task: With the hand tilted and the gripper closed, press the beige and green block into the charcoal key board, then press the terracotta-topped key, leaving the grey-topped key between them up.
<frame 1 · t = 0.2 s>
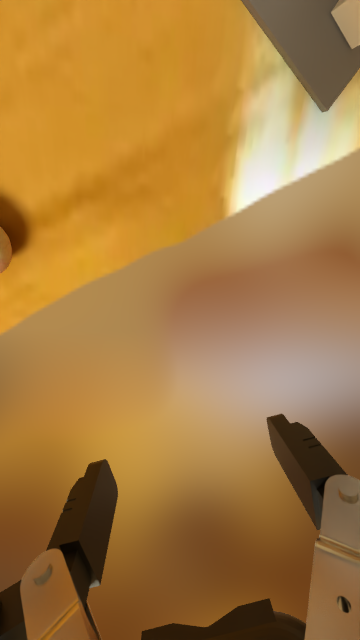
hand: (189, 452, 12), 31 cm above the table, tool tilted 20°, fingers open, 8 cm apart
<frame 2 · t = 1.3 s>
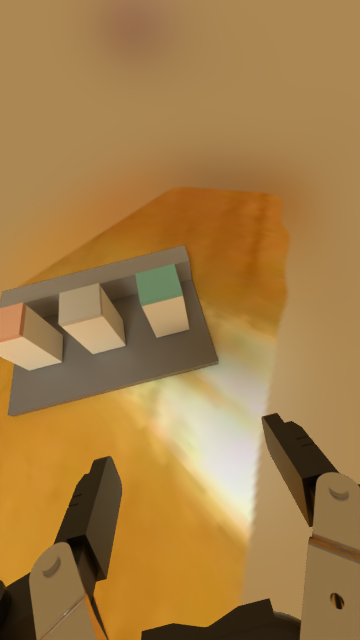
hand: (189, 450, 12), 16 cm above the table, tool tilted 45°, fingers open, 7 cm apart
beige and green block: (164, 303, 30), point 5 cm above the table, slide at 0.0 cm
key board: (111, 334, 35), on the table
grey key: (95, 321, 30), point 5 cm above the table, slide at 0.0 cm
terracotta key: (26, 339, 30), point 5 cm above the table, slide at 0.0 cm
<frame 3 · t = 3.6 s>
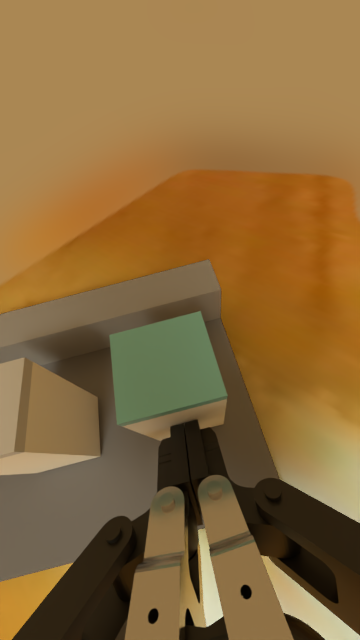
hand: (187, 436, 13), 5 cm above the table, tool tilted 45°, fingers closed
beige and green block: (176, 387, 14), point 5 cm above the table, slide at 0.0 cm, touching gripper
key board: (77, 420, 19), on the table
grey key: (31, 425, 14), point 5 cm above the table, slide at 0.0 cm
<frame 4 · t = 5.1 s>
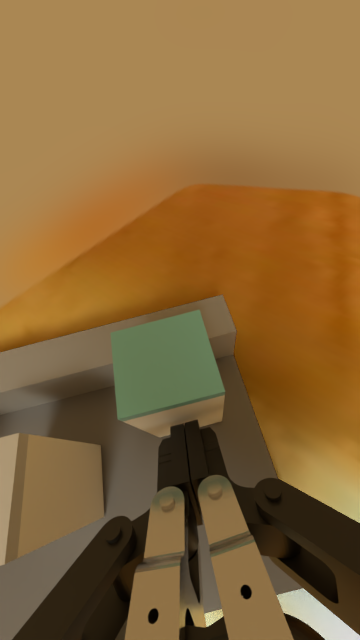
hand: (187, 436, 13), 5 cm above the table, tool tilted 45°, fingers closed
beige and green block: (175, 384, 14), point 5 cm above the table, slide at 3.5 cm
key board: (78, 469, 18), on the table
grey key: (28, 494, 13), point 5 cm above the table, slide at 0.0 cm
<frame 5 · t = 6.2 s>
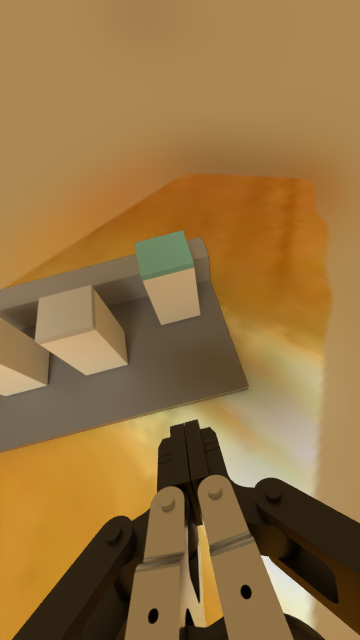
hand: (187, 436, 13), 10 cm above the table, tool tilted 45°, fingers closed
beige and green block: (170, 282, 24), point 5 cm above the table, slide at 3.5 cm
key board: (109, 348, 28), on the table
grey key: (88, 335, 23), point 5 cm above the table, slide at 0.0 cm
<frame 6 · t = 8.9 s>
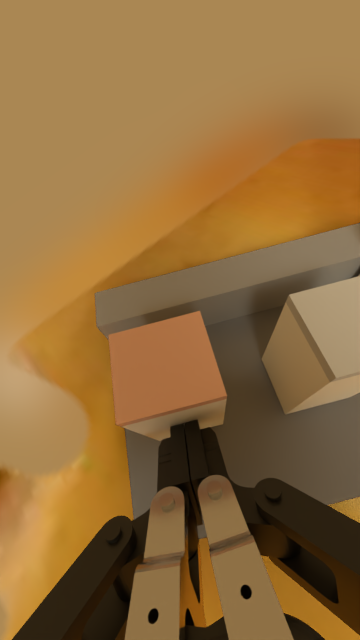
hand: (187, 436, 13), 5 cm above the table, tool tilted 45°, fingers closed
key board: (292, 369, 19), on the table
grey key: (324, 355, 14), point 5 cm above the table, slide at 0.0 cm
terracotta key: (175, 387, 14), point 5 cm above the table, slide at 0.4 cm, touching gripper
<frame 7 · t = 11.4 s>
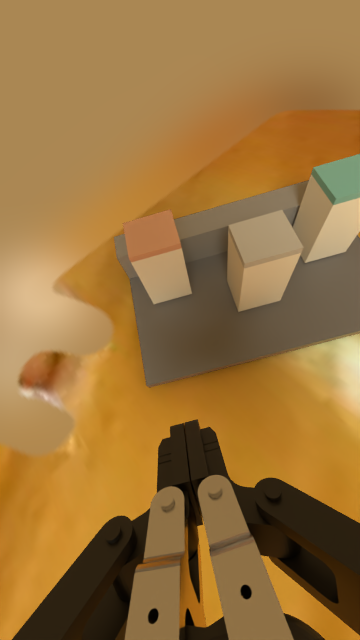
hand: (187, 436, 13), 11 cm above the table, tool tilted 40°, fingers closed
beige and green block: (331, 214, 24), point 5 cm above the table, slide at 3.5 cm
key board: (248, 288, 28), on the table
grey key: (257, 267, 23), point 5 cm above the table, slide at 0.0 cm
terracotta key: (161, 262, 25), point 5 cm above the table, slide at 3.6 cm
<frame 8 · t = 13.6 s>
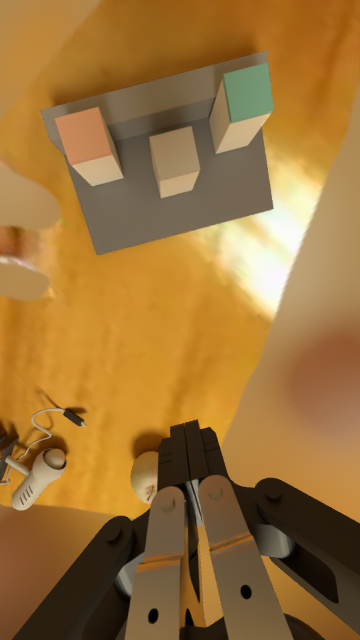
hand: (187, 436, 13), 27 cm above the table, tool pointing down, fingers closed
clip-on lamp: (42, 439, 43), on the table, touching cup
fruit: (154, 459, 46), on the table
beige and green block: (237, 115, 29), point 5 cm above the table, slide at 3.5 cm
key board: (170, 173, 34), on the table
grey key: (173, 167, 29), point 5 cm above the table, slide at 0.0 cm
terracotta key: (94, 152, 29), point 5 cm above the table, slide at 3.6 cm
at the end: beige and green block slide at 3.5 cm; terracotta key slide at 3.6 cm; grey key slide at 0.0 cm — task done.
